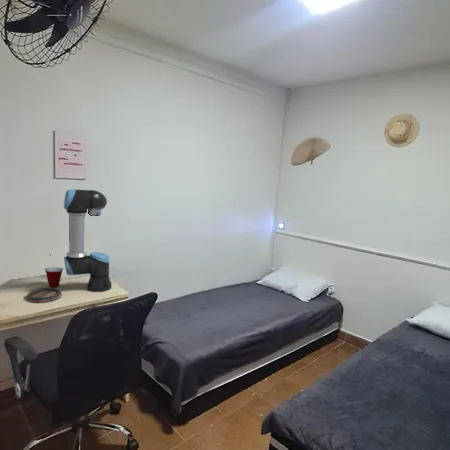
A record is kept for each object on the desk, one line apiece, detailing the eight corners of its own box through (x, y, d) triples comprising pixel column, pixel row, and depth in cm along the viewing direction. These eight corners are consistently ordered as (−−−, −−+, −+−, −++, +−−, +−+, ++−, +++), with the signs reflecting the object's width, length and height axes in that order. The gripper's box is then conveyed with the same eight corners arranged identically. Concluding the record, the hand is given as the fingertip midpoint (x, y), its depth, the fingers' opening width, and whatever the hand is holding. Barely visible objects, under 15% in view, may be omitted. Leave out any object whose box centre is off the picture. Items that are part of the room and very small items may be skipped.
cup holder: (66, 291, 207) (66, 287, 207) (54, 303, 189) (54, 299, 189) (35, 290, 205) (35, 286, 205) (20, 302, 187) (20, 298, 187)
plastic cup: (66, 286, 216) (66, 269, 214) (49, 290, 208) (48, 272, 206) (59, 282, 223) (59, 265, 221) (42, 285, 215) (42, 267, 213)
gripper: (88, 234, 239) (81, 259, 227) (52, 232, 236) (43, 258, 224) (86, 228, 233) (78, 254, 221) (48, 226, 230) (39, 252, 218)
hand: (60, 256), depth 222 cm, fingers open, 13 cm apart
